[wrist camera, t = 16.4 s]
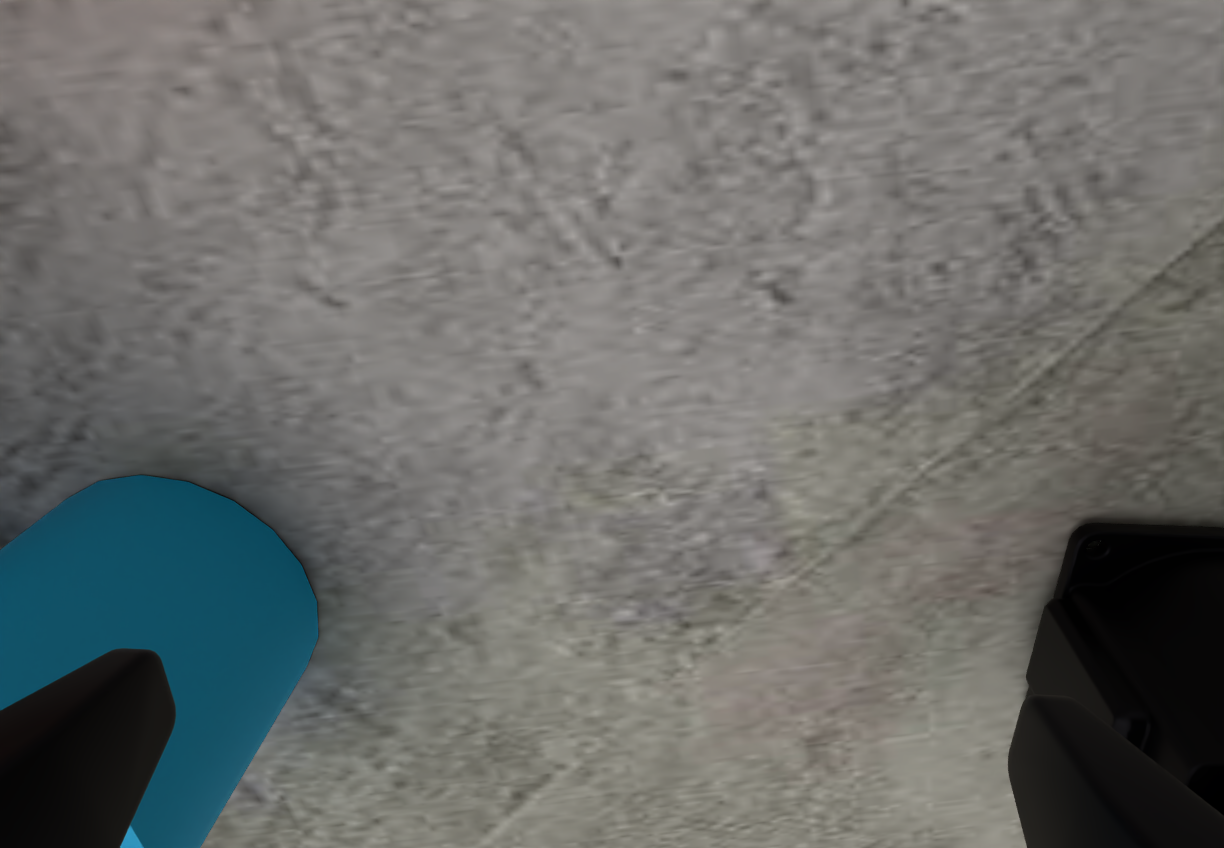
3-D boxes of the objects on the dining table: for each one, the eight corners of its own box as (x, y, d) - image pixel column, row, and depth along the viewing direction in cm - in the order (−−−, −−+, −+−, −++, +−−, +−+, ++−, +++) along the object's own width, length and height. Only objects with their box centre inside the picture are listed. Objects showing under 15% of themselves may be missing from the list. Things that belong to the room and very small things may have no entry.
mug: (336, 523, 23) (167, 765, 15) (302, 734, 26) (152, 1012, 19) (-109, 398, 22) (-507, 586, 15) (-81, 630, 26) (-391, 876, 18)
